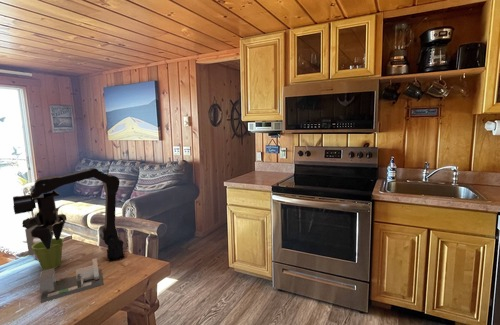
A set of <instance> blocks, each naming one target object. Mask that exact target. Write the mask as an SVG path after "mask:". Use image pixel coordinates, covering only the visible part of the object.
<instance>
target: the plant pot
mask: <svg viewBox="0 0 500 325" xmlns="http://www.w3.org/2000/svg"><path fill="white" fill-rule="evenodd" d="M64 240H65V239H64V238H62V237H60V238H59V240H56V239H55V237H54V238H52V243H51V247H50V249H46V247H45V245H44V244H43V242H42V241H41V242H38V243H36V244H34V245H33V246H32V249H34V251H35V253H36V255H37V257H38V260H37V261H38V262H39V265H40V268H41V269H42V270H41V271H44V270H48V269H52V268H54V270H55V269H56V268H57V267H60V266H62V259H63V258H62V257H63V255H62V254H63V253H62V252H63V244H64Z"/></svg>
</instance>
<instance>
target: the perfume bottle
mask: <svg viewBox="0 0 500 325" xmlns="http://www.w3.org/2000/svg"><path fill="white" fill-rule="evenodd" d="M33 217H34V216H31V217H30V218H33ZM37 226H38V225H35V226H33V227H31V228H30V229H27V228H25V229H24V231H25V237H26V243H27V252H28V256H29V257H30V256H31V257H32V256H35V253H34V249H32V246H33V239H34V238H35V237H32V236H31V231H32V230H33V229H34V228H36V227H37ZM41 226H43V225H41Z"/></svg>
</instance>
